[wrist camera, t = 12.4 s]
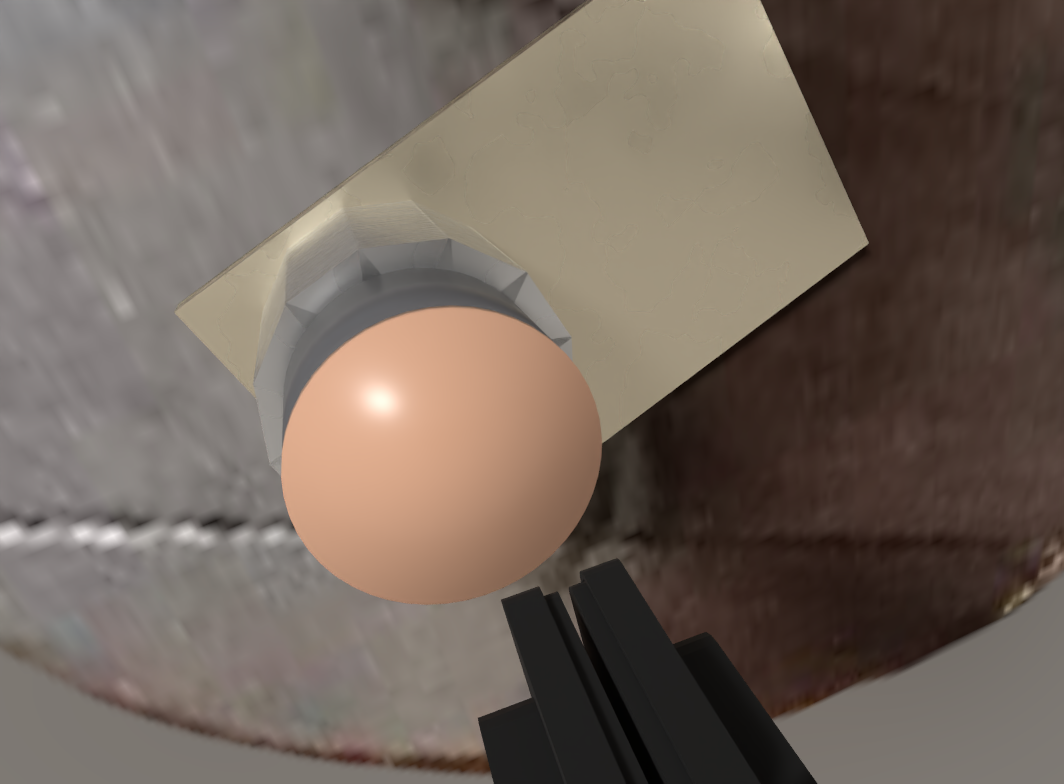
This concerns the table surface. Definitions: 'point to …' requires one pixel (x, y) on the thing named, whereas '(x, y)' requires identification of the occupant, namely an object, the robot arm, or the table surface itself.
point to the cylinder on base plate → (576, 206)
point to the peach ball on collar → (434, 438)
